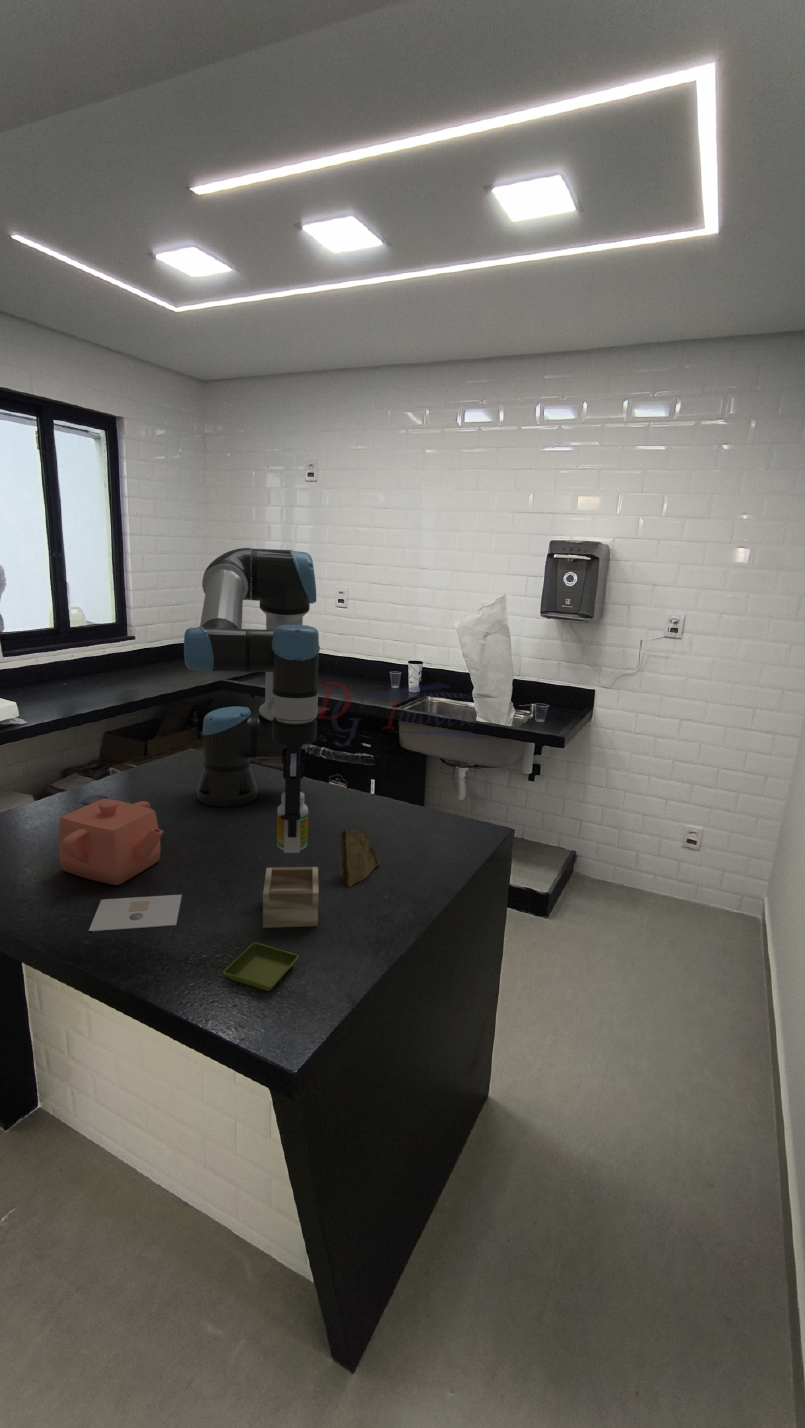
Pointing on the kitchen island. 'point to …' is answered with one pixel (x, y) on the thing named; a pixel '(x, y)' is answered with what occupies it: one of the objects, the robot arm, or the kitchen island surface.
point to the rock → (356, 857)
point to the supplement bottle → (302, 823)
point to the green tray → (260, 966)
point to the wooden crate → (290, 897)
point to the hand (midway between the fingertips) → (292, 843)
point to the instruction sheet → (136, 913)
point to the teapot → (109, 840)
